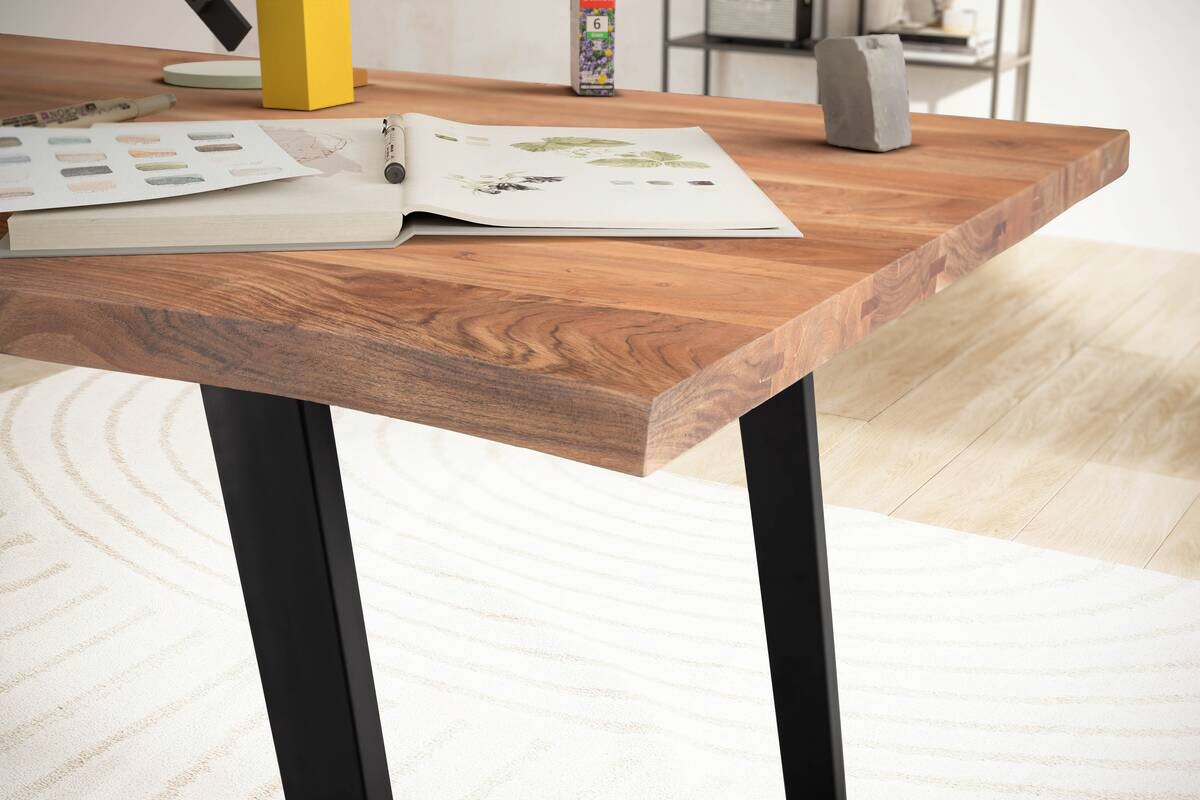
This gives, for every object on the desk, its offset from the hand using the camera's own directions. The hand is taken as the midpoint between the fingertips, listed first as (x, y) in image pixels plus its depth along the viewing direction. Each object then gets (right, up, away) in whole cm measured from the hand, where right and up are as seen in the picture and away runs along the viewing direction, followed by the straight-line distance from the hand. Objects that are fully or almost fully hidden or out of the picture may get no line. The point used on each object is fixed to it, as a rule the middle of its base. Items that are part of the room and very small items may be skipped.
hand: (290, 35), depth 106 cm
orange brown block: (+1, 0, +16) cm, 16 cm away
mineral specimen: (+44, -12, -14) cm, 48 cm away
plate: (-9, +1, +19) cm, 21 cm away
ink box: (+25, -1, +16) cm, 29 cm away
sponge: (+1, -5, +2) cm, 6 cm away
